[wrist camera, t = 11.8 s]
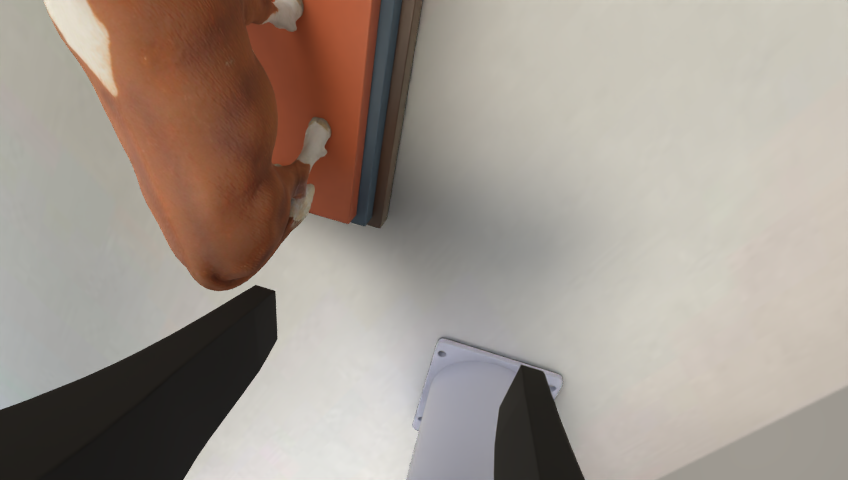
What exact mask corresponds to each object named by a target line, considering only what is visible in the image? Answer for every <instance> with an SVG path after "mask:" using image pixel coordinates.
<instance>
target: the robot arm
mask: <svg viewBox="0 0 848 480" xmlns="http://www.w3.org/2000/svg"><path fill="white" fill-rule="evenodd" d="M276 340H277V318H276V296H275V291H274V290H270V289H267V288H264V287H260V286H257V285H255V286H253V287H252V288H250V289H248V290H246V291H245V292H243V293H241V294H240V295H238V296H236V297H235V298H233V299H231V300H230V301H228V302H226V303H225V304H223V305H221V306H220V307H218V308H216V309H215V310H213V311H211V312H210V313H208V314H206V315H205V316H203V317H201V318H199V319H198V320H196V321H194V322H192V323H191V324H189V325H187V326H186V327H184V328H182V329H180V330H179V331H177V332H175V333H173V334H171V335H170V336H168V337H166V338H164V339H162V340H160V341H158V342H156V343H154V344H152V345H151V346H149V347H147V348H145V349H143V350H141V351H139V352H137V353H135V354H133V355H131V356H129V357H127V358H125V359H123V360H121V361H119V362H117V363H115V364H113V365H110V366H108V367H106V368H104V369H102V370H99V371H97V372H95V373H93V374H91V375H88V376H86V377H84V378H81V379H79V380H77V381H74V382H72V383H69V384H67V385H64V386H62V387H59V388H57V389H54V390H52V391H49V392H47V393H44V394H42V395H39V396H37V397H34V398H32V399H29V400H26V401H24V402H21V403H18V404H16V405H13V406H10V407H7V408H4V409H2V410H0V480H183V479H184V478H185V476H186V474H187V473H188V471H189V469H190V468H191V466H192V464H193V463H194V461H195V460H196V458H197V456H198V455H199V453H200V452H201V450H202V449H203V448H204V446H205V445H206V443H207V442H208V440H209V439H210V437H211V436H212V435H213V433H214V432H215V431H216V429H217V428H218V427H219V425H220V424H221V423H222V421H223V420H224V418H225V417H226V416H227V414H228V413H229V412H230V410H231V409H232V408H233V406H234V405H235V404H236V402H237V401H238V400H239V398H240V397H241V395H242V394H243V393H244V391H245V390H246V389H247V387H248V386H249V384H250V383H251V382H252V380H253V379H254V378H255V376H256V375H257V373H258V372H259V371H260V369H261V367H262V365H263V364H264V362H265V360H266V359H267V357H268V355H269V353H270V351H271V350H272V348H273V346H274V344H275V342H276ZM441 351H444V352H441ZM562 386H563V378H562V376H561V375H559V374H557V373H554V372H550V371H547V370H544V369H541V368H538V367H534V366H531V365H528V364H525V363H522V362H518V361H515V360H512V359H509V358H506V357H502V356H499V355H496V354H493V353H490V352H486V351H483V350H480V349H477V348H474V347H470V346H467V345H464V344H461V343H458V342H454V341H451V340H448V339H440V340H438V342H437V344H436V348H435V351H434V354H433V358H432V361H431V364H430V368H429V371H428V374H427V378H426V381H425V384H424V388H423V391H422V394H421V398H420V401H419V404H418V407H417V411H416V414H415V417H414V421H413V424H412V426H413V428H414V429H415V430H417V431H419V432H418V436H417V440H416V444H415V448H414V452H413V455H412V459H411V463H410V467H409V471H408V475H407V479H406V480H585V479H584V476H583V474H582V472H581V470H580V467H579V465H578V462H577V460H576V458H575V455H574V453H573V450H572V448H571V445H570V443H569V440H568V438H567V435H566V433H565V430H564V427H563V425H562V422H561V419H560V417H559V414H558V411H557V408H556V405H555V403H554V399H555V397H556V396H557V394H558V392H559V391H560V389H561V387H562Z"/></svg>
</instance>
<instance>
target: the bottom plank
mask: <svg viewBox="0 0 848 480" xmlns="http://www.w3.org/2000/svg"><path fill="white" fill-rule="evenodd" d="M422 1H423V0H402V4H401V11H400V18H399V26H398V33H397V40H396V47H395V54H394V61H393V69H392V76H391V83H390V90H389V97H388V104H387V112H386V119H385V126H384V133H383V140H382V147H381V155H380V162H379V169H378V176H377V183H376V190H375V198H374V205H373V212H372V218H371V219H370V221H369V222H368V223H367V225H370V226H373V227H376V228H381V226H382V225H383V224H384V222H385V221H386V219H387V215H388V209H389V203H390V197H391V191H392V185H393V179H394V172H395V166H396V160H397V154H398V148H399V142H400V136H401V130H402V124H403V117H404V111H405V105H406V99H407V93H408V87H409V81H410V75H411V68H412V62H413V56H414V50H415V44H416V38H417V32H418V26H419V20H420V13H421V7H422Z"/></svg>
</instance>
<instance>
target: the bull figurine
mask: <svg viewBox="0 0 848 480" xmlns="http://www.w3.org/2000/svg"><path fill="white" fill-rule="evenodd" d="M43 1H44V3H45V6H46V8H47V11H48V13H49V15H50V17H51V19H52V21H53V23H54V25H55V27H56V29H57V31H58V33H59V35H60V37H61V38H62V40H63V41H64V42H65V44H66V45H67V47H68V48H69V49H70V51H71V52H72V53H73V55H74V56H75V57H76V59H77V60H78V62H79V63H80V65H81V66H82V68H83V69H84V71H85V72H86V74H87V76H88V77H89V79H90V81H91V83H92V85H93V87H94V89H95V91H96V93H97V95H98V97H99V99H100V101H101V104H102V106H103V108H104V110H105V112H106V114H107V116H108V117H109V119H110V121H111V123H112V125H113V128H114V130H115V132H116V134H117V136H118V138H119V140H120V142H121V144H122V146H123V148H124V150H125V151H126V153H127V155H128V157H129V159H130V161H131V163H132V166H133V168H134V171H135V173H136V176H137V179H138V182H139V185H140V188H141V191H142V194H143V196H144V198H145V200H146V203H147V205H148V206H149V208H150V210H151V212H152V213H153V215H154V217H155V219H156V221H157V222H158V224H159V226H160V228H161V230H162V232H163V234H164V236H165V238H166V240H167V242H168V244H169V246H170V248H171V250H172V251H173V253H174V254H175V256H176V257H177V258H178V259H179V260H180V261H181V263H182V264H183V265H184V266H185V267H187V269H188V271H189V272H190V274H191V276H192V277H193V278H194V279H195V280H196V281H197V282H198V283H199V284H200V285H202V286H203V287H205V288H207V289H210V290H214V291H224V290H229V289H233V288H235V287H237V286H239V285H241V284H243V283H244V282H246V281H248V280H249V279H250V278H251V277H252V276H254V275H255V274H256V273H257V272H258V271H259V270H260V269H261V268H262V267H263V266H264V265H265V264H266V263H267V261H268V260H269V259H270V258H271V257H272V255H273V254H274V253H275V251H276V250H277V249H278V247H279V246H280V244H281V243H282V242H283V241H284V239H285V238H286V237H287V236H288V235H289V234H290V232H291V231H292V230H293V229H294V228H296V227H297V226H298V225H299V224H300V223H301V222H302V221H303V219H304V218H305V217H306V215H307V214H308V212H309V210H310V208H311V203H312V201H313V195H314V193H315V187H314V185H313V184H307V180H308V177H309V174H310V171H311V169H312V166H313V165H314V163H315V162H316V161H317V160H318V159H319V158H321V157H323V156H325V155H326V154H327V150H326V149H325V144H326V142H327V140H328V139H329V138H330V137H331V127H330V126H329V124H328V122H327V121H326V120H325V119H323V118H319V117H313V118H312V119H311V121H310V122H309V124H308V128H307V130H306V133H305V139H304V146H303V149H302V151H301V153H300V155H299V156H298V158H297V159H296V160H295V161H294V162H293V163H291V164H290V165H286V166H282V165H280V164H273V163H272V154H273V150H274V146H275V142H276V137H277V129H278V111H277V103H276V97H275V93H274V90H273V87H272V85H271V82H270V80H269V77H268V75H267V74H266V72H265V70H264V68H263V66H262V65H261V63H260V61H259V60H258V58H257V57H256V55H255V53H254V51H253V49H252V47H251V43H250V39H249V35H248V32H247V28H246V26H247V25H249V24H251V23H254V24H257V25H261V24H264V23H267V22H270V23H272V24H273V25H274V26H275V27H277V28H279V29H286V30H287V31H289V32H294V31H296V30H297V27H296V21H297V20H298V19H299V18H300V17H301V16H302V15H303V11H304V6H303V2H302V0H275V2H272V1H271V0H43Z"/></svg>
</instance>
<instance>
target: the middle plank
mask: <svg viewBox="0 0 848 480" xmlns="http://www.w3.org/2000/svg"><path fill="white" fill-rule="evenodd" d="M401 4H402V0H381V4H380V13H379V21H378V30H377V39H376V47H375V56H374V65H373V73H372V82H371V91H370V99H369V108H368V117H367V126H366V134H365V143H364V152H363V160H362V169H361V178H360V186H359V195H358V204H357V212H356V216H355V217H354V218H353V219H352V221H351V223H355V224H358V225H362V226H366V225H367V223H368V222H369V221H370V219H371V218H372V212H373V205H374V198H375V190H376V183H377V176H378V169H379V162H380V155H381V147H382V140H383V133H384V126H385V119H386V112H387V104H388V97H389V90H390V83H391V76H392V69H393V61H394V54H395V47H396V40H397V33H398V26H399V18H400V11H401Z"/></svg>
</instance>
